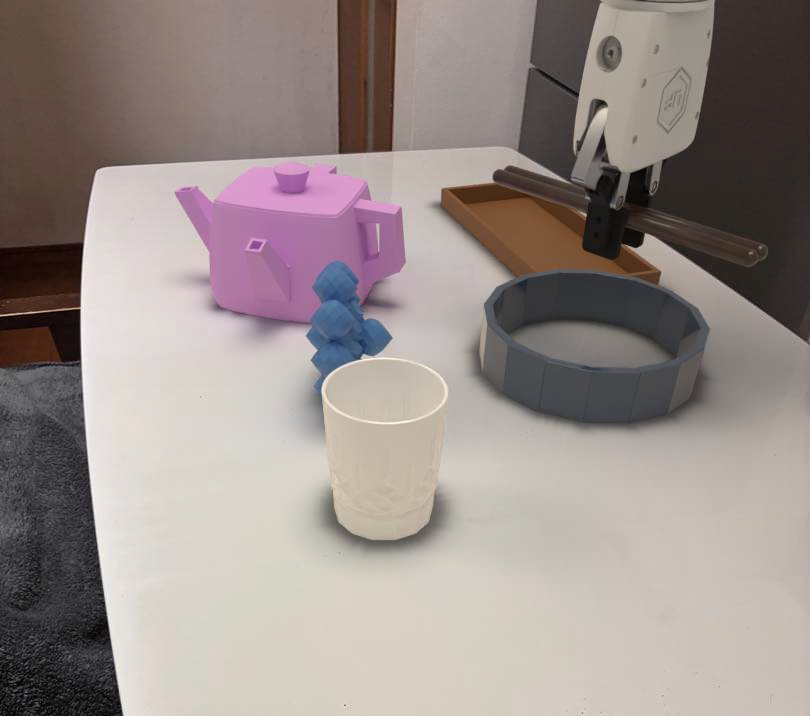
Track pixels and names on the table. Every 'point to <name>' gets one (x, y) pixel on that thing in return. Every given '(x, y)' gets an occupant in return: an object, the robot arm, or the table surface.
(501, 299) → the ring
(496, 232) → the tray
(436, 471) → the white cup
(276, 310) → the teakettle
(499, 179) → the chopsticks
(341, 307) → the grapes
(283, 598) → the table surface
